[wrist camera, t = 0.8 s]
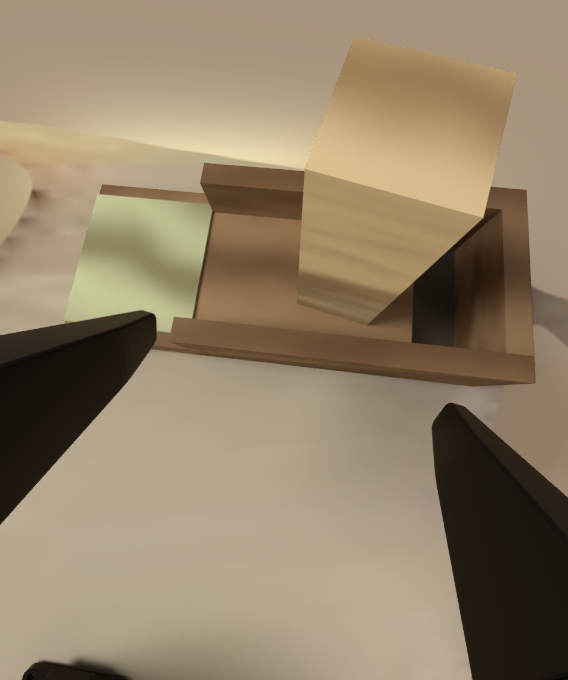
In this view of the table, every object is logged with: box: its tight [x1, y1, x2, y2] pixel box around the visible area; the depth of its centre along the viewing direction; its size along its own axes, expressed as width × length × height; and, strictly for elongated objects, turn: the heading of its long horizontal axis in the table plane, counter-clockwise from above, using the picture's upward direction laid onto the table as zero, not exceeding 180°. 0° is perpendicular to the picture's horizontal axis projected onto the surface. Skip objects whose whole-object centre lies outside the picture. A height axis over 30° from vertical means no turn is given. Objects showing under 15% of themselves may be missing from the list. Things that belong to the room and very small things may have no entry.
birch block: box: [297, 37, 517, 325], centre depth 14 cm, size 5×5×12 cm
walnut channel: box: [63, 163, 535, 386], centre depth 20 cm, size 12×30×6 cm, turn 83°
